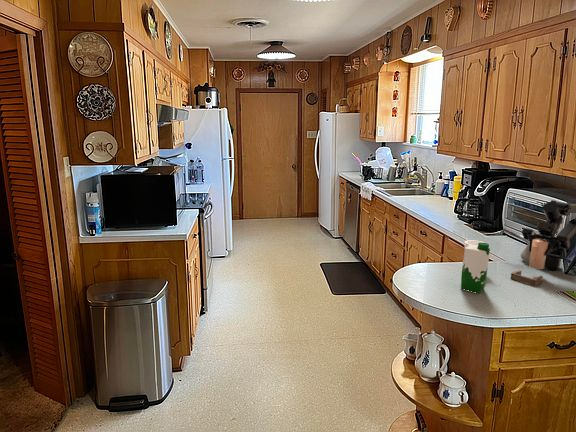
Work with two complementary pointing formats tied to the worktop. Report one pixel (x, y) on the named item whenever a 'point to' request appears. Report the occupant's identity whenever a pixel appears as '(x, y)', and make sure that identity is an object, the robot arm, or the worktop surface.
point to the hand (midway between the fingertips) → (537, 253)
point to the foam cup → (472, 242)
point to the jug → (538, 253)
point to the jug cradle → (525, 278)
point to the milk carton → (475, 267)
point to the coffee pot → (525, 254)
